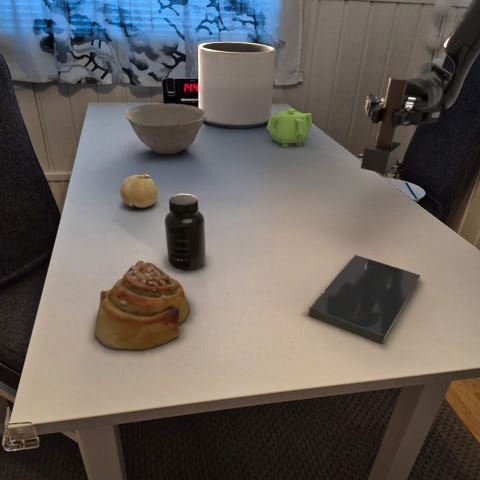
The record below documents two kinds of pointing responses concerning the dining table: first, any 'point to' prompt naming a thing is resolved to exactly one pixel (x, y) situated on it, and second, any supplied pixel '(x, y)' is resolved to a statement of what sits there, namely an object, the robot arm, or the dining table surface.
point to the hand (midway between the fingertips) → (385, 118)
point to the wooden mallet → (386, 131)
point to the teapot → (289, 126)
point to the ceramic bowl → (166, 126)
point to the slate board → (365, 298)
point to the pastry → (141, 309)
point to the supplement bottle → (185, 233)
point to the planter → (236, 83)
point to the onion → (139, 191)
